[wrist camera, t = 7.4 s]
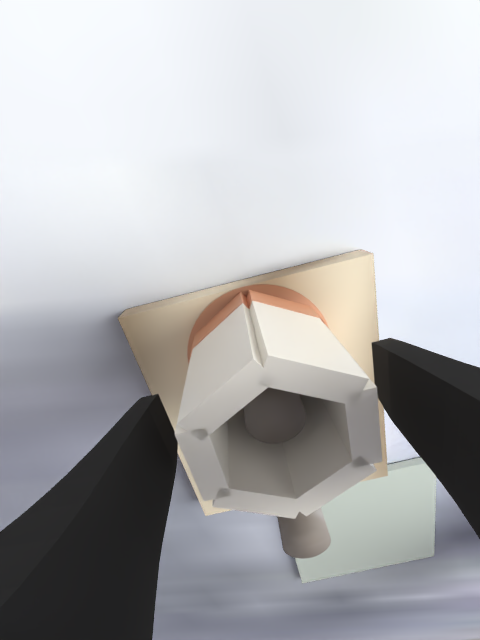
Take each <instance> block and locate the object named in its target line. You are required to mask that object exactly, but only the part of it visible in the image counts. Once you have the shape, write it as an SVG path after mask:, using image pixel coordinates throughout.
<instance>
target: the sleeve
mask: <svg viewBox="0 0 480 640" xmlns="http://www.w3.org/2000/svg"><path fill="white" fill-rule="evenodd" d="M268 387H270V388H274V389H279V390H284V391H288V392H293V393H297V394H299V396H300V398H301V401H302V403H303V406H304V408H305V411H306V423H305V425H304V427H303V429H302V430H301V432H300V433H299V434H298V435H297V436H295V437H294V438H292V439H290V440H288V441H286V442H282V443H277V444H269V443H264V442H261V441H258V440H256V439H255V438H253V437H252V436H251V435H250V434H249V432H248V431H247V428H246V425H245V416H244V406H246V405H247V404H248V403H249V402H251V401H252V400H253V399H254V398H256V397H257V396H258V395H259V394H261V393H262V392H263V391H264V390H265V389H267V388H268ZM175 437H176V439H177V441H178V444H179V446H180V448H181V450H182V453H183V455H184V457H185V460H186V462H187V464H188V467H189V469H190V471H191V473H192V476H193V478H194V480H195V483H196V485H197V487H198V490H199V492H200V494H201V496H202V499H203V501H208V500H213V504H212V507H216V508H223V509H230V510H237V511H244V512H251V513H258V514H265V515H272V516H279V517H286V518H293V519H295V518H296V516H297V515H298V513H299V512H301V513H302V514H304V515H305V516H308V515H309V514H311V513H312V512H314V511H316V510H317V509H319V508H320V507H322V506H323V505H325V504H326V503H328V502H329V501H331V500H332V499H334V498H336V497H337V496H339V495H340V494H342V493H343V492H345V491H346V490H348V489H349V488H351V487H352V486H354V485H356V484H357V483H359V482H360V481H362V480H363V479H365V478H366V477H368V476H369V475H371V474H372V473H374V472H376V471H377V470H376V468H375V466H374V465H373V464H375V463H379V462H382V449H381V435H380V422H379V408H378V395H377V387H376V385H375V384H374V383H373V382H372V380H371V379H370V378H369V377H368V376H367V374H366V373H365V372H364V371H363V370H362V368H361V367H360V366H359V365H358V363H357V362H356V361H355V360H354V359H353V357H352V356H351V355H350V354H349V353H348V351H347V350H346V349H345V348H344V346H343V345H342V344H341V343H340V342H339V340H338V339H337V338H336V337H335V336H334V334H333V333H332V332H331V331H330V329H329V328H328V327H327V326H326V323H325V322H324V321H323V320H322V319H321V317H320V316H319V315H318V314H317V313H316V312H315V311H314V310H313V308H312V307H311V306H308V305H304V304H300V303H297V302H293V301H289V300H285V299H282V298H278V297H274V296H270V295H267V294H263V293H259V292H255V291H252V290H249V291H248V294H247V297H245V296H244V295H243V294H242V293H241V292H240V293H239V294H238V295H237V296H236V297H235V298H234V299H232V300H231V301H230V302H229V303H228V304H227V305H226V306H225V307H224V308H223V309H222V310H221V311H220V312H219V313H218V314H217V315H215V316H214V317H213V318H212V319H211V320H210V321H209V322H208V323H207V324H206V325H205V326H204V327H203V328H202V329H201V330H199V331H198V332H197V333H196V334H195V336H194V341H193V344H192V349H191V353H190V362H189V367H188V371H187V376H186V381H185V386H184V391H183V396H182V400H181V405H180V410H179V415H178V420H177V425H176V429H175Z"/></svg>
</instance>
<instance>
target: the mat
mask: <svg viewBox="0 0 480 640" xmlns="http://www.w3.org/2000/svg"><path fill="white" fill-rule="evenodd" d="M387 469H388V476H385V477H380V478H376V479H371V480H367V481H362V482H359V483H357V484H356V485H354V486H352V487H351V488H349V489H348V490H346V491H345V492H343V493H342V494H340V495H339V496H337V497H336V498H334V499H332V500H331V501H329V502H328V503H326V504H325V505H323V506H322V507H321V509H322V513H323V516H324V519H325V522H326V525H327V528H328V531H329V535H330V538H331V543H330V546H329V547H328V549H327V550H326V551H324V552H323V553H321V554H320V555H317V556H315V557H311V558H305V559H301V558H295V560H296V563H297V567H298V570H299V574H300V577H301V581H302V584H303V583H308V582H312V581H317V580H322V579H327V578H332V577H337V576H341V575H346V574H351V573H356V572H361V571H366V570H370V569H375V568H380V567H385V566H390V565H395V564H399V563H404V562H409V561H414V560H419V559H424V558H428V557H433V556H434V545H435V506H436V476H435V474H434V473H433V472H432V471H431V469H430V468H429V467H428V466H427V464H426V463H425V462H424V461H423V459H422V458H421V457H420V458H415V459H411V460H406V461H402V462H397V463H393V464H388V465H387Z"/></svg>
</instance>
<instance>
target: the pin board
mask: <svg viewBox="0 0 480 640" xmlns="http://www.w3.org/2000/svg"><path fill="white" fill-rule="evenodd" d="M249 290H252V291H255V292H259V293H263V294H267V295H270V296H274V297H278V298H282V299H285V300H289V301H293V302H297V303H300V304H304V305H308V306H311V307H312V308H313V310H314V311H315V312H316V313H317V314H318V315H319V316H320V317H321V319H322V320H323V321H324V322H325V323H326V326H327V327H328V328H329V329H330V331H331V332H332V333H333V334H334V336H335V337H336V338H337V339H338V340H339V342H340V343H341V344H342V345H343V346H344V348H345V349H346V350H347V351H348V353H349V354H350V355H351V356H352V357H353V359H354V360H355V361H356V362H357V363H358V365H359V366H360V367H361V368H362V370H363V371H364V372H365V373H366V374H367V376H368V377H369V378H370V379H371V380H372V382H373V383H374V384H375V382H374V369H373V356H372V342H376V341H379V333H378V317H377V302H376V287H375V272H374V257H373V253H370V252H367V251H365V250H362V249H361V250H357V251H353V252H349V253H345V254H342V255H338V256H334V257H330V258H326V259H322V260H318V261H314V262H310V263H306V264H302V265H298V266H294V267H290V268H286V269H283V270H279V271H275V272H271V273H267V274H263V275H259V276H255V277H251V278H247V279H243V280H239V281H235V282H231V283H228V284H224V285H220V286H216V287H212V288H208V289H204V290H200V291H196V292H192V293H188V294H184V295H180V296H176V297H172V298H169V299H165V300H161V301H157V302H153V303H149V304H145V305H141V306H137V307H133V308H129V309H126V310H125V311H124V312H123V313H122V314H121V315H120V316H119V318H118V320H119V322H120V324H121V327H122V329H123V331H124V333H125V336H126V338H127V340H128V342H129V345H130V347H131V349H132V351H133V354H134V356H135V358H136V360H137V363H138V365H139V367H140V369H141V372H142V374H143V376H144V378H145V381H146V383H147V385H148V387H149V390H150V392H151V394H152V395H155V394H159V396H160V399H161V401H162V403H163V406H164V408H165V410H166V413H167V415H168V417H169V420H170V422H171V424H172V426H173V429H174V431H175V429H176V425H177V420H178V415H179V410H180V405H181V400H182V396H183V391H184V386H185V381H186V376H187V371H188V367H189V362H190V353H191V349H192V344H193V341H194V336H195V334H196V333H197V332H198V331H199V330H201V329H202V328H203V327H204V326H205V325H206V324H207V323H208V322H209V321H210V320H211V319H212V318H213V317H214V316H215V315H217V314H218V313H219V312H220V311H221V310H222V309H223V308H224V307H225V306H226V305H227V304H228V303H229V302H230V301H231V300H232V299H234V298H235V297H236V296H237V295H238V294H239V293H240V292H241V293H242V294H243V295H244V296H245V297H247V294H248V291H249ZM378 408H379V422H380V435H381V449H382V462H379V463H375V464H373V465H374V466H375V468H376V470H377V471H376V472H374V473H372V474H371V475H369V476H368V477H366V478H365V479H363V480H362V481H367V480H371V479H376V478H380V477H385V476H388V469H387V454H386V439H385V424H384V409H383V405H382V404H381V402H380V400H379V399H378ZM244 416H245V425H246V428H247V431H248V432H249V434H250V435H251V436H252V437H253V438H255V439H256V440H258V441H261V442H264V443H269V444H277V443H282V442H286V441H288V440H290V439H292V438H294V437H295V436H297V435H298V434H299V433H300V432H301V430H302V429H303V427H304V425H305V423H306V411H305V408H304V406H303V403H302V401H301V398H300V396H299V394H297V393H293V392H288V391H284V390H279V389H274V388H270V387H268V388H267V389H265V390H264V391H263V392H262V393H261V394H259V395H258V396H257V397H256V398H254V399H253V400H252V401H251V402H249V403H248V404H247V405H246V406H244ZM177 453H178V455H179V457H180V459H181V462H182V464H183V466H184V468H185V471H186V473H187V475H188V477H189V480H190V482H191V484H192V486H193V489H194V491H195V493H196V495H197V498H198V500H199V502H200V504H201V507H202V509H203V511H204V513H205V516H208V515H212V514H217V513H221V512H226V511H230V509H223V508H216V507H212V504H213V500H208V501H203V499H202V496H201V494H200V492H199V490H198V487H197V485H196V483H195V480H194V478H193V476H192V473H191V471H190V469H189V467H188V464H187V462H186V460H185V457H184V455H183V453H182V450H181V448H180V446H179V444H178V450H177ZM362 481H360V482H362ZM278 522H279V527H280V533H281V539H282V545H283V549H284V551H285V553H286V554H288V555H289V556H291V557H294V558H301V559H305V558H311V557H315V556H317V555H320V554H321V553H323V552H324V551H326V550H327V549H328V547H329V546H330V543H331V538H330V535H329V531H328V528H327V525H326V522H325V519H324V516H323V513H322V509H321V507H320V508H319V509H317V510H316V511H314V512H312V513H311V514H309V515H308V516H305V515H304V514H302V513H301V512H299V513H298V515H297V516H296V518H295V519H293V518H286V517H279V516H278Z"/></svg>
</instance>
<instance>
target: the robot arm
mask: <svg viewBox="0 0 480 640" xmlns="http://www.w3.org/2000/svg"><path fill="white" fill-rule="evenodd" d="M372 356H373V369H374V382H375V385H376V387H377V395H378V399H379V400H380V402H381V404H382V405H383V407H384V409H385V410H386V412H387V414H388V415H389V417H390V418H391V420H392V421H393V423H394V424H395V425H396V426H397V428H398V429H399V430H400V432H401V433H402V434H403V435H404V437H405V438H406V439H407V440H408V442H409V443H410V444H411V445H412V447H413V448H414V449H415V451H416V452H417V453H418V454H419V456H420V457H421V458H422V459H423V461H424V462H425V463H426V464H427V466H428V467H429V468H430V469H431V471H432V472H433V473H434V474H435V476H436V477H437V478H438V479H439V481H440V482H441V483H442V484H443V486H444V487H445V488H446V490H447V491H448V493H449V494H450V495H451V497H452V498H453V499H454V501H455V502H456V504H457V505H458V507H459V508H460V510H461V511H462V513H463V514H464V516H465V517H466V519H467V520H468V522H469V523H470V525H471V526H472V528H473V529H474V531H475V532H476V534H477V535H478V537H479V538H480V368H479V367H476V366H472V365H469V364H466V363H463V362H460V361H457V360H454V359H451V358H448V357H445V356H442V355H440V354H437V353H434V352H431V351H428V350H425V349H422V348H420V347H417V346H414V345H411V344H408V343H405V342H402V341H399V340H396V339H392V338H388V339H384V340H380V341H376V342H372ZM177 450H178V441H177V439H176V437H175V431H174V429H173V426H172V424H171V422H170V420H169V417H168V415H167V413H166V410H165V408H164V406H163V403H162V401H161V399H160V396H159V394H155V395H151V396H147V397H143V398H140V399H139V400H138V401H137V402H136V403H135V404H134V405H133V406H132V407H131V408H130V409H129V410H128V411H127V412H126V413H125V414H124V416H123V417H122V418H121V419H120V420H119V421H118V422H117V423H116V424H115V425H114V426H113V427H112V429H111V430H110V431H109V432H108V433H107V434H106V435H105V436H104V437H103V438H102V439H101V440H100V441H99V442H98V444H97V445H96V446H95V447H94V448H93V449H92V450H91V451H90V452H89V453H88V454H87V455H86V456H85V457H84V458H83V459H82V460H81V461H80V462H79V463H78V464H77V465H76V466H75V467H74V468H73V469H72V470H71V471H70V472H69V473H68V474H67V475H66V476H65V477H64V478H63V479H61V480H60V481H59V482H58V483H57V484H56V485H55V486H54V487H53V488H52V489H51V490H50V491H48V492H47V493H46V494H45V495H44V496H43V497H42V498H40V499H39V500H38V501H37V502H36V503H35V504H34V505H32V506H31V507H30V508H29V509H28V510H27V511H26V512H24V513H23V514H22V515H21V516H20V517H18V518H17V519H16V520H15V521H13V522H12V523H11V524H10V525H8V526H7V527H6V528H4V529H3V530H2V531H1V532H0V640H152V635H153V622H154V610H155V599H156V590H157V580H158V570H159V561H160V555H161V548H162V542H163V537H164V532H165V527H166V521H167V516H168V511H169V506H170V501H171V495H172V490H173V485H174V479H175V473H176V466H177Z"/></svg>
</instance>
